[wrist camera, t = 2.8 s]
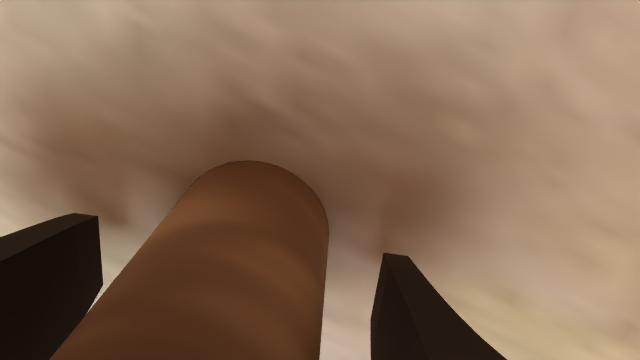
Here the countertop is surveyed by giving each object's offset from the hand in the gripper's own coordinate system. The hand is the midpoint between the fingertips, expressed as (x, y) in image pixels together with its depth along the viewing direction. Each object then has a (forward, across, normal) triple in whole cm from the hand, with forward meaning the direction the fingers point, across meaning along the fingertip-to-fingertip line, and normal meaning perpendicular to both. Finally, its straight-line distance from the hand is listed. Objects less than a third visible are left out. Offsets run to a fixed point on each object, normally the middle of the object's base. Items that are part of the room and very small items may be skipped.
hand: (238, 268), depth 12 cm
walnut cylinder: (+2, 0, 0) cm, 2 cm away
